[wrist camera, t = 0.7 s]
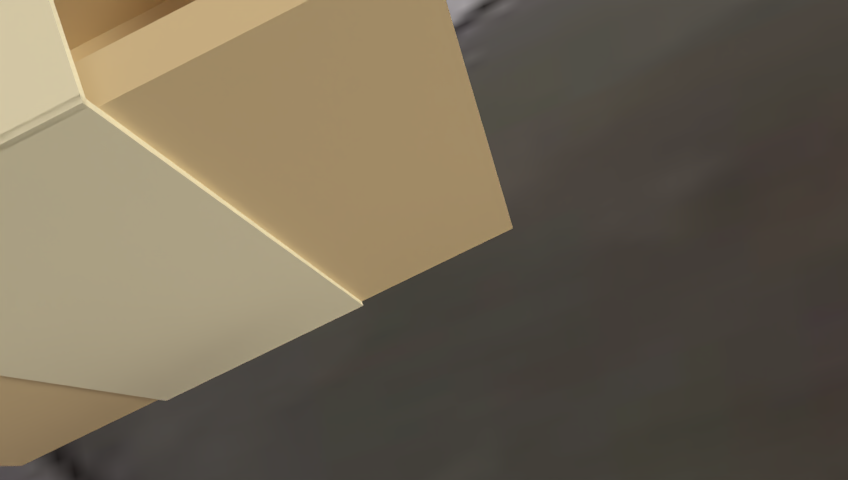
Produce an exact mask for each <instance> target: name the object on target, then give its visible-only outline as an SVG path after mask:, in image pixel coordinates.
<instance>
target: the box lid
mask: <svg viewBox="0 0 848 480" xmlns="http://www.w3.org/2000/svg"><path fill="white" fill-rule="evenodd" d="M512 228H513V227H512V224H511V220H510V217H509V213H508V210H507V207H506V203H505V200H504V196H503V193H502V190H501V186H500V183H499V179H498V176H497V173H496V169H495V166H494V162H493V159H492V156H491V152H490V149H489V145H488V142H487V139H486V135H485V132H484V128H483V125H482V122H481V118H480V115H479V111H478V108H477V105H476V101H475V98H474V94H473V91H472V88H471V84H470V81H469V77H468V74H467V71H466V67H465V64H464V60H463V57H462V54H461V50H460V47H459V43H458V40H457V37H456V33H455V30H454V26H453V23H452V20H451V16H450V13H449V9H448V6H447V3H446V0H195V1H194V2H192V3H190V4H188V5H186V6H184V7H182V8H180V9H178V10H176V11H174V12H172V13H170V14H168V15H166V16H164V17H162V18H160V19H158V20H156V21H155V22H153V23H151V24H149V25H147V26H145V27H143V28H141V29H139V30H137V31H135V32H133V33H131V34H129V35H127V36H125V37H123V38H121V39H119V40H118V41H116V42H114V43H112V44H110V45H108V46H106V47H104V48H102V49H100V50H98V51H96V52H94V53H92V54H90V55H88V56H86V57H84V58H82V59H80V60H79V61H77V62H75V63H74V61H73V58H72V55H71V52H70V49H69V46H68V43H67V40H66V37H65V34H64V31H63V28H62V25H61V22H60V19H59V16H58V13H57V10H56V7H55V4H54V1H53V0H0V466H22V465H24V464H26V463H28V462H30V461H33V460H35V459H37V458H39V457H41V456H43V455H45V454H47V453H49V452H51V451H53V450H55V449H57V448H59V447H62V446H64V445H66V444H68V443H70V442H72V441H74V440H76V439H78V438H80V437H82V436H84V435H86V434H88V433H90V432H93V431H95V430H97V429H99V428H101V427H103V426H105V425H107V424H109V423H111V422H113V421H115V420H117V419H119V418H121V417H124V416H126V415H128V414H130V413H132V412H134V411H136V410H138V409H140V408H142V407H144V406H146V405H148V404H150V403H152V402H155V401H157V400H165V401H167V400H169V399H171V398H173V397H175V396H177V395H179V394H181V393H183V392H185V391H187V390H189V389H192V388H194V387H196V386H198V385H200V384H202V383H204V382H206V381H208V380H210V379H212V378H214V377H216V376H218V375H221V374H223V373H225V372H227V371H229V370H231V369H233V368H235V367H237V366H239V365H241V364H243V363H245V362H247V361H249V360H252V359H254V358H256V357H258V356H260V355H262V354H264V353H266V352H268V351H270V350H272V349H274V348H276V347H278V346H281V345H283V344H285V343H287V342H289V341H291V340H293V339H295V338H297V337H299V336H301V335H303V334H305V333H307V332H310V331H312V330H314V329H316V328H318V327H320V326H322V325H324V324H326V323H328V322H330V321H332V320H334V319H336V318H338V317H341V316H343V315H345V314H347V313H349V312H351V311H353V310H355V309H357V308H359V307H361V306H363V304H362V301H363V300H365V299H368V298H370V297H372V296H374V295H376V294H378V293H380V292H382V291H384V290H386V289H388V288H390V287H392V286H394V285H396V284H399V283H401V282H403V281H405V280H407V279H409V278H411V277H413V276H415V275H417V274H419V273H421V272H423V271H425V270H427V269H430V268H432V267H434V266H436V265H438V264H440V263H442V262H444V261H446V260H448V259H450V258H452V257H454V256H456V255H458V254H461V253H463V252H465V251H467V250H469V249H471V248H473V247H475V246H477V245H479V244H481V243H483V242H485V241H487V240H489V239H492V238H494V237H496V236H498V235H500V234H502V233H504V232H506V231H508V230H510V229H512Z"/></svg>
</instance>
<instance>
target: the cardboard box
mask: <svg viewBox="0 0 848 480" xmlns="http://www.w3.org/2000/svg"><path fill="white" fill-rule="evenodd" d="M53 1H54V4H55V7H56V10H57V13H58V16H59V19H60V22H61V25H62V28H63V31H64V34H65V37H66V40H67V43H68V46H69V49H70V52H71V55H72V58H73V61H74V63H75V62H77V61H79V60H80V59H82V58H84V57H86V56H88V55H90V54H92V53H94V52H96V51H98V50H100V49H102V48H104V47H106V46H108V45H110V44H112V43H114V42H116V41H118V40H119V39H121V38H123V37H125V36H127V35H129V34H131V33H133V32H135V31H137V30H139V29H141V28H143V27H145V26H147V25H149V24H151V23H153V22H155V21H156V20H158V19H160V18H162V17H164V16H166V15H168V14H170V13H172V12H174V11H176V10H178V9H180V8H182V7H184V6H186V5H188V4H190V3H192V2H194V1H195V0H53Z"/></svg>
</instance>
